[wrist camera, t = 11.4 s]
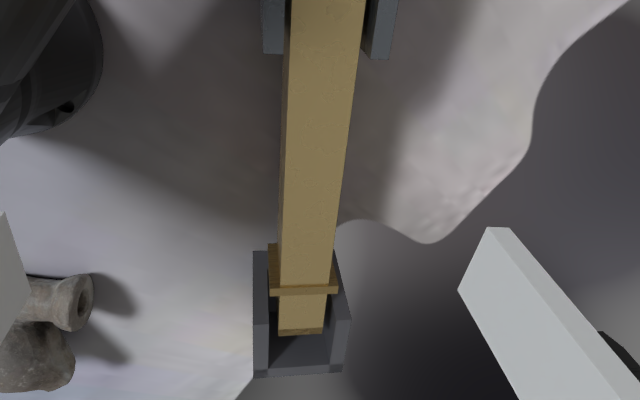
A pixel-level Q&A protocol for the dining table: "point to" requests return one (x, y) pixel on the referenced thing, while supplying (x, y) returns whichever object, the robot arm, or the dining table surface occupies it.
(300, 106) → the bar
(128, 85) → the dining table surface
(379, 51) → the sleeve
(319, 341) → the socket
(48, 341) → the pipe
